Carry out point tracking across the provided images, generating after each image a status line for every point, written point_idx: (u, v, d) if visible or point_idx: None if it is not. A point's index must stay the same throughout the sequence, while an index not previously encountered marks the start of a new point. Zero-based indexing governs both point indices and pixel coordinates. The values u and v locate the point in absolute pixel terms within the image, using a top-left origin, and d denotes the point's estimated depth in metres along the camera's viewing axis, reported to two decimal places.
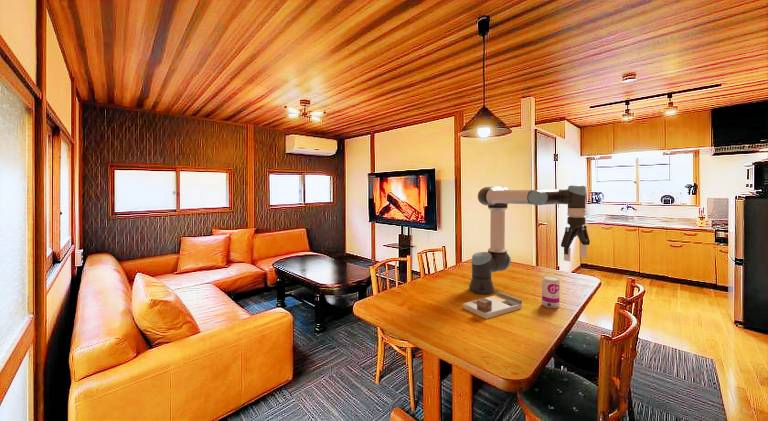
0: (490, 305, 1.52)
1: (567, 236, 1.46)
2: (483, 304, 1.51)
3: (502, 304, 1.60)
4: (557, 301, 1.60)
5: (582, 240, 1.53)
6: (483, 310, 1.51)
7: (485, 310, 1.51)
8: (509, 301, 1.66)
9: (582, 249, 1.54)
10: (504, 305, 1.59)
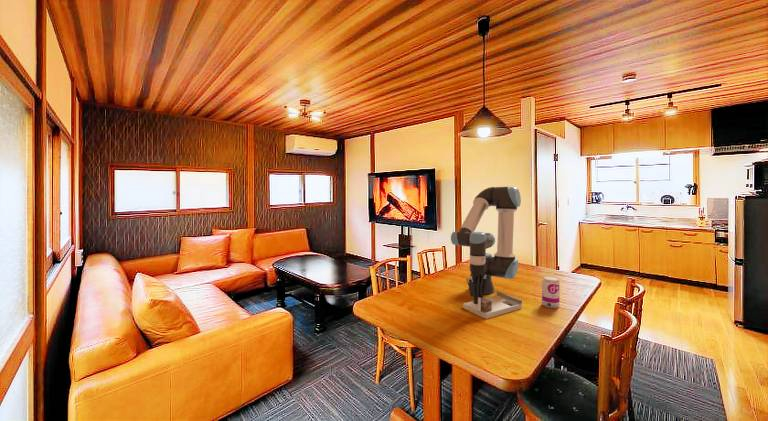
0: (490, 305, 1.52)
1: (471, 288, 1.48)
2: (483, 304, 1.51)
3: (502, 304, 1.60)
4: (557, 301, 1.60)
5: (478, 290, 1.51)
6: (483, 310, 1.51)
7: (485, 310, 1.51)
8: (509, 301, 1.66)
9: None
10: (504, 305, 1.59)
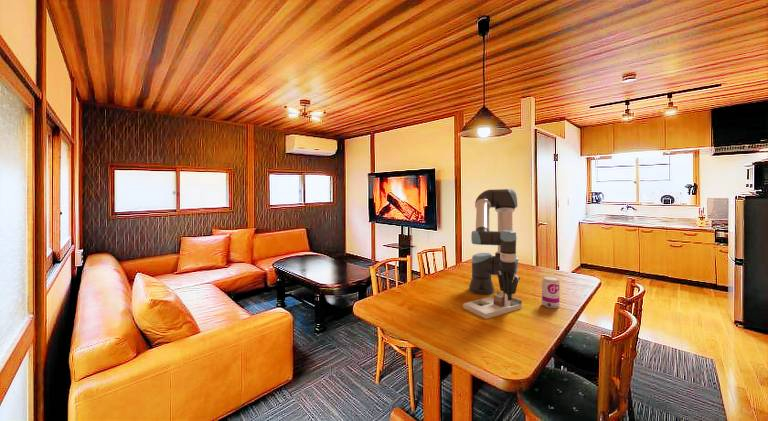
0: None
1: None
2: (500, 299, 1.57)
3: None
4: (557, 301, 1.60)
5: None
6: (500, 305, 1.57)
7: (502, 305, 1.57)
8: None
9: None
10: None
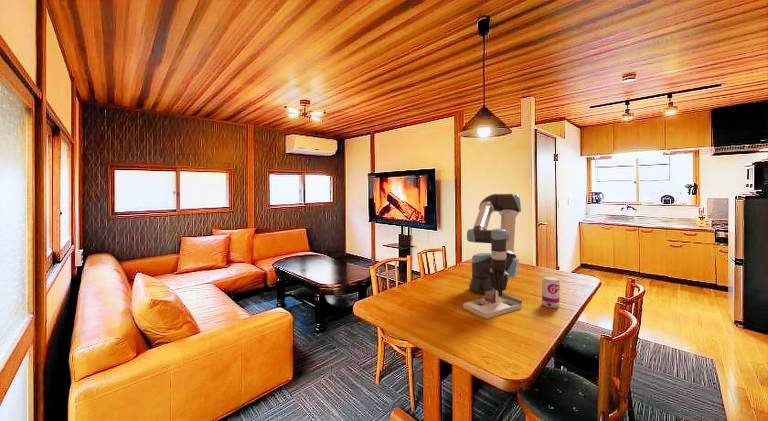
0: None
1: None
2: (491, 295, 1.62)
3: (502, 304, 1.60)
4: (557, 301, 1.60)
5: None
6: (491, 301, 1.62)
7: (492, 301, 1.62)
8: (509, 301, 1.66)
9: None
10: (504, 305, 1.59)
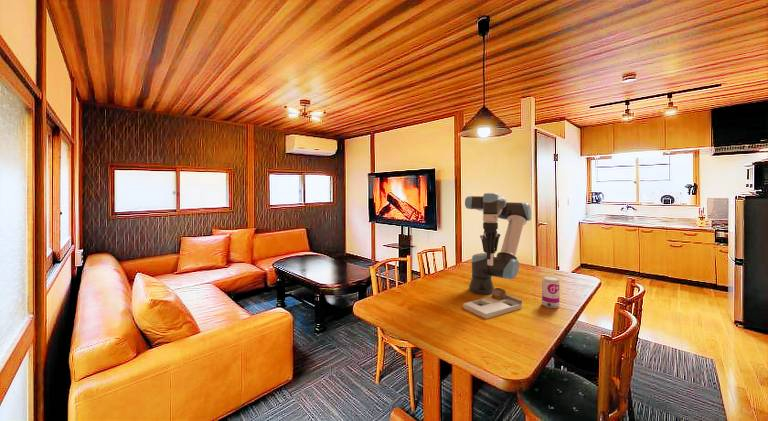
0: (504, 294, 1.68)
1: (484, 244, 1.61)
2: (498, 293, 1.66)
3: (502, 304, 1.60)
4: (557, 301, 1.60)
5: (491, 247, 1.64)
6: (498, 298, 1.66)
7: (499, 298, 1.66)
8: (509, 301, 1.66)
9: None
10: (504, 305, 1.59)
